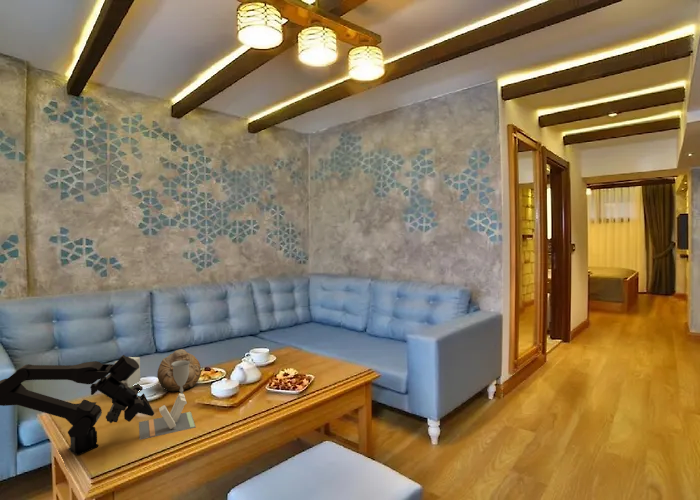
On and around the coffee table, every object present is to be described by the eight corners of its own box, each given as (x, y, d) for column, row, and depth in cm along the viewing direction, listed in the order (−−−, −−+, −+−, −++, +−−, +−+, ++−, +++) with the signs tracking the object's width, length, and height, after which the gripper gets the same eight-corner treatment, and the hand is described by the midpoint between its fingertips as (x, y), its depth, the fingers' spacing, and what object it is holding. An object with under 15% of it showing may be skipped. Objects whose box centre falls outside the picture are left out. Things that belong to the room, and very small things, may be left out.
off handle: (170, 429, 142) (159, 411, 140) (169, 425, 145) (158, 408, 143) (175, 425, 143) (165, 408, 141) (175, 422, 146) (164, 404, 144)
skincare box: (127, 399, 170) (126, 363, 170) (114, 397, 172) (113, 362, 171) (141, 391, 179) (140, 356, 178) (128, 389, 180) (127, 355, 179)
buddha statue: (165, 398, 171) (163, 358, 171) (153, 387, 184) (151, 350, 183) (210, 385, 185) (209, 348, 184) (196, 375, 198) (194, 341, 197)
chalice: (168, 407, 163) (167, 364, 162) (182, 401, 169) (181, 359, 168) (180, 411, 159) (180, 367, 158) (194, 404, 165) (193, 362, 164)
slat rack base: (139, 443, 136) (139, 415, 135) (139, 425, 148) (138, 399, 147) (195, 430, 144) (195, 404, 144) (190, 414, 157) (190, 390, 156)
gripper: (98, 399, 140) (135, 422, 146) (94, 422, 124) (135, 447, 130) (123, 373, 144) (158, 397, 150) (122, 392, 127) (161, 418, 133)
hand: (153, 414), depth 140 cm, fingers closed
